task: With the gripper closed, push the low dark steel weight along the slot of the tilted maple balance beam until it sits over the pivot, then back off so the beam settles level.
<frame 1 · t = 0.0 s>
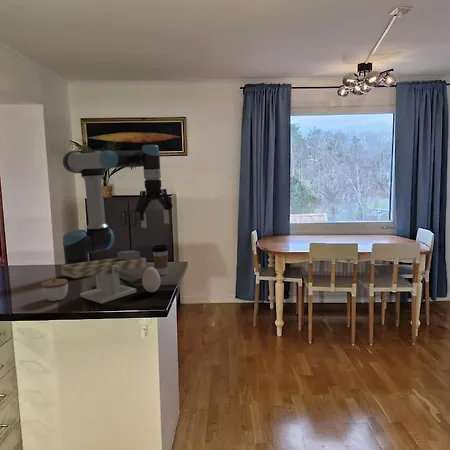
hand: (155, 225, 191), 28 cm above the countertop, tool pointing down, fingers open, 13 cm apart
beam: (106, 265, 180), point 13 cm above the countertop, hinge at 5.2°, touching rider
egg: (152, 292, 183), on the countertop
coffee cup: (161, 274, 213), on the countertop
lidded jar: (56, 299, 179), on the countertop
stand: (108, 294, 182), on the countertop
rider: (128, 262, 189), point 12 cm above the countertop, tilted 5°, touching beam
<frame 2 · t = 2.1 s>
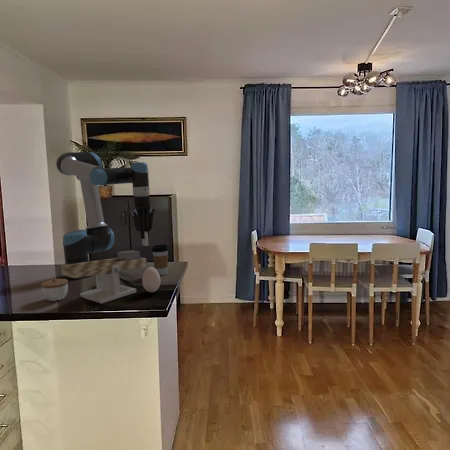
hand: (145, 245, 196), 18 cm above the countertop, tool pointing down, fingers closed
nothing on the countertop moved.
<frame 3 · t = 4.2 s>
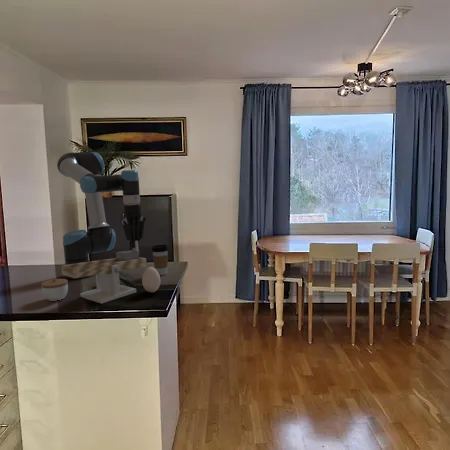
hand: (136, 254, 192), 15 cm above the countertop, tool pointing down, fingers closed
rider: (127, 262, 189), point 12 cm above the countertop, tilted 5°, touching beam, gripper
everything else where it was.
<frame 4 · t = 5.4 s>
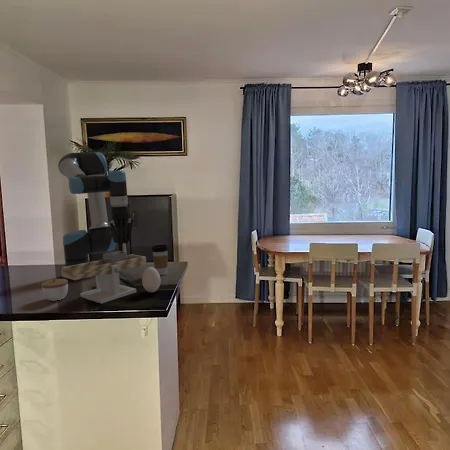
hand: (123, 257, 187), 15 cm above the countertop, tool pointing down, fingers closed
beam: (106, 265, 180), point 13 cm above the countertop, hinge at 2.5°, touching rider
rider: (115, 264, 184), point 13 cm above the countertop, touching beam
everything else where it was.
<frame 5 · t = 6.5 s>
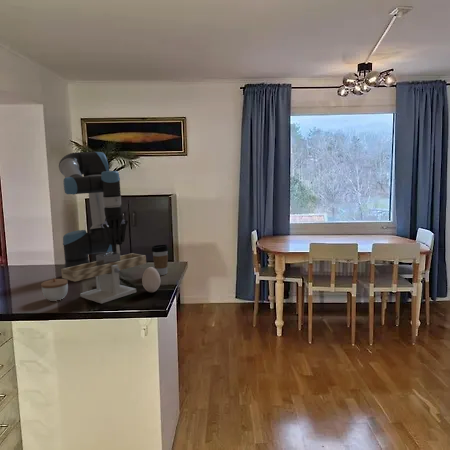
hand: (117, 258, 185), 15 cm above the countertop, tool pointing down, fingers closed
beam: (106, 265, 180), point 13 cm above the countertop, hinge at 0.6°, touching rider
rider: (108, 265, 181), point 13 cm above the countertop, touching beam, gripper
everything else where it was.
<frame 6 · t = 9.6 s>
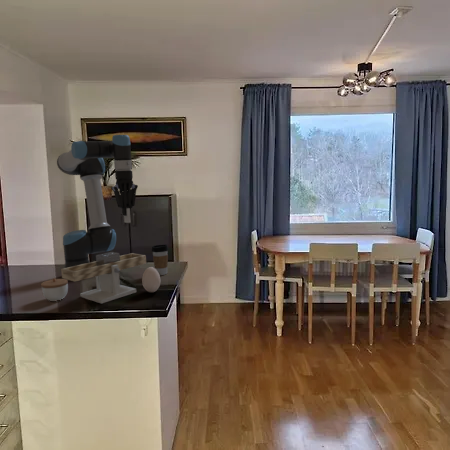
hand: (127, 222, 188), 30 cm above the countertop, tool pointing down, fingers closed
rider: (108, 265, 181), point 13 cm above the countertop, touching beam
everything else where it was.
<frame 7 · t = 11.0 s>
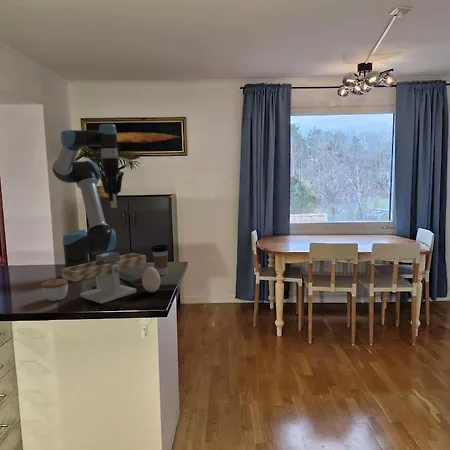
hand: (114, 207, 198), 36 cm above the countertop, tool pointing down, fingers closed
nothing on the countertop moved.
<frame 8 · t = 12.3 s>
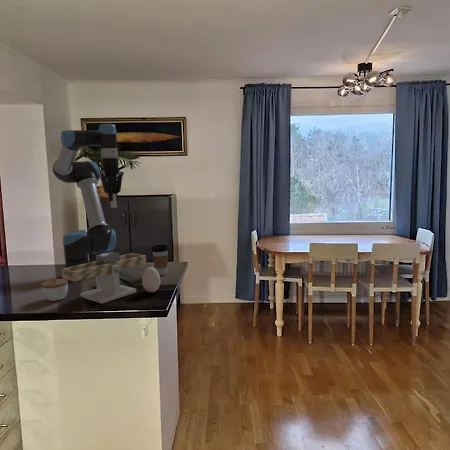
hand: (113, 207, 198), 36 cm above the countertop, tool pointing down, fingers closed
nothing on the countertop moved.
at the end: beam at +1° (first picture: +5°); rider 1.1 cm off-centre on the beam, point 1.0 cm above the beam's base; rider tilted 1° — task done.
